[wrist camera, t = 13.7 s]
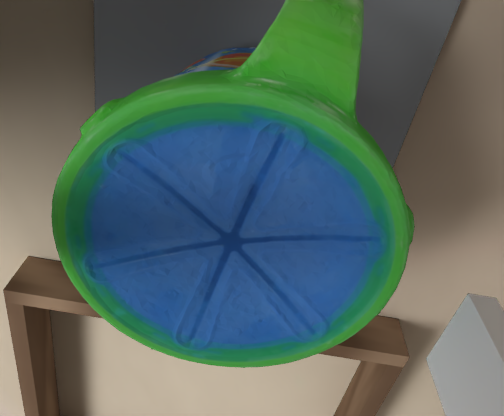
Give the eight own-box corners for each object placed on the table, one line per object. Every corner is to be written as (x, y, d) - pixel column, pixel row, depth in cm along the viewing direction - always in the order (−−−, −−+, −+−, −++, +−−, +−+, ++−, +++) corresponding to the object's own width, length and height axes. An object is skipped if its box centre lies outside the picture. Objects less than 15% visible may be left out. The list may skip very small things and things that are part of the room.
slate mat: (100, 217, 26) (96, 223, 25) (98, -88, 18) (92, -88, 17) (350, 261, 27) (351, 268, 26) (459, -10, 18) (464, -8, 18)
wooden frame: (49, 424, 38) (32, 459, 36) (28, 256, 28) (3, 289, 25) (321, 464, 40) (324, 501, 37) (398, 319, 29) (409, 357, 27)
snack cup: (268, 271, 27) (264, 437, 18) (98, 200, 24) (3, 352, 16) (441, 25, 19) (579, 116, 10) (214, -113, 16) (146, -145, 8)
